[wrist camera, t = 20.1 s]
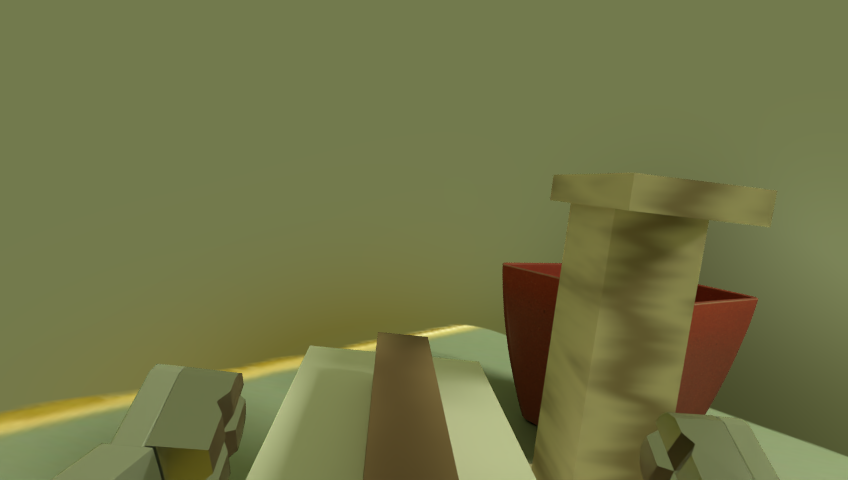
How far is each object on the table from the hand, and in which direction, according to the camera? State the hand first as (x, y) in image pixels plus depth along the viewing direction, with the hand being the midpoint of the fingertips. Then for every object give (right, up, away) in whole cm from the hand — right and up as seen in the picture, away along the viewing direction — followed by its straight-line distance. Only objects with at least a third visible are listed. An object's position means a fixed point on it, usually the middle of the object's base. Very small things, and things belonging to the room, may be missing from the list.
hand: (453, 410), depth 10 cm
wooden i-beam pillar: (+11, -18, +28) cm, 35 cm away
